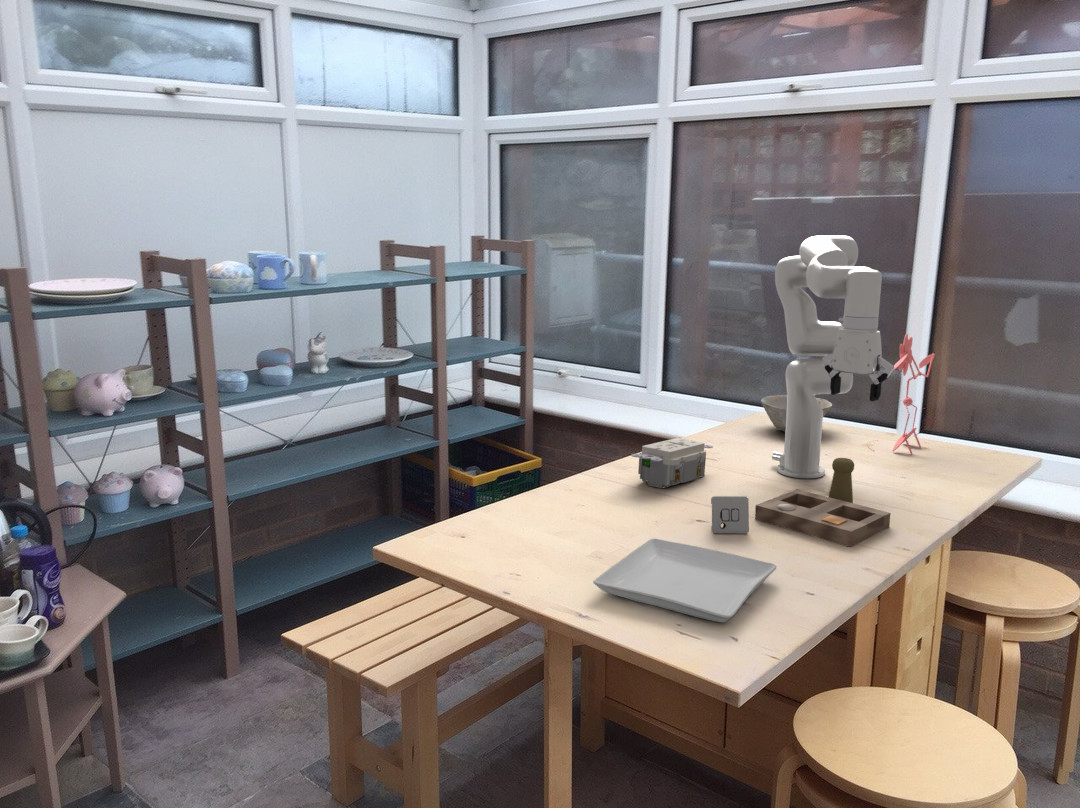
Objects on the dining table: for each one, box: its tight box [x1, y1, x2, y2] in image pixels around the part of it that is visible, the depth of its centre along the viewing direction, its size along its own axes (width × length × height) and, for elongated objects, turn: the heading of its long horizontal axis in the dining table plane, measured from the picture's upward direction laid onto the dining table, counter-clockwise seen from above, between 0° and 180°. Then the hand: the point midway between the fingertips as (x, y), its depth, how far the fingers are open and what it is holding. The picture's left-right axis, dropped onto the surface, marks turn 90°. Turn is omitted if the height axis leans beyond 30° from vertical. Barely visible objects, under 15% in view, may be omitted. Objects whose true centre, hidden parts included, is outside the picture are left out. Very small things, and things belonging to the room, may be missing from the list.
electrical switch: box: [710, 495, 750, 534], centre depth 204 cm, size 8×5×8 cm, turn 90°
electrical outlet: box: [630, 437, 714, 489], centre depth 242 cm, size 12×28×10 cm, turn 140°
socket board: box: [754, 488, 891, 548], centre depth 209 cm, size 24×18×4 cm
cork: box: [828, 457, 855, 503], centre depth 224 cm, size 6×6×11 cm
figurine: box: [866, 333, 936, 455], centre depth 273 cm, size 15×26×35 cm, turn 142°
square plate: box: [592, 538, 777, 623], centre depth 174 cm, size 27×27×4 cm
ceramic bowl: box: [761, 394, 833, 433], centre depth 294 cm, size 22×23×10 cm
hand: (854, 397), depth 211 cm, fingers open, 9 cm apart
